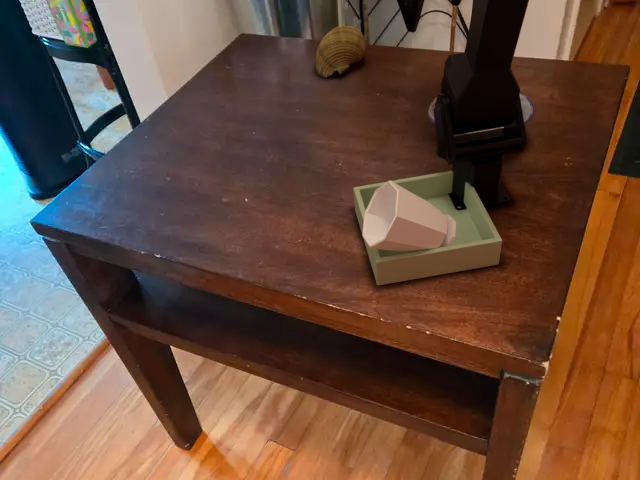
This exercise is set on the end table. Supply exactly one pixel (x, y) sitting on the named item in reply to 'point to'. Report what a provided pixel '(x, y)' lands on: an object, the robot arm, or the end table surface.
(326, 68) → the seashell
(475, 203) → the tray
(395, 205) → the cup
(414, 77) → the end table surface
